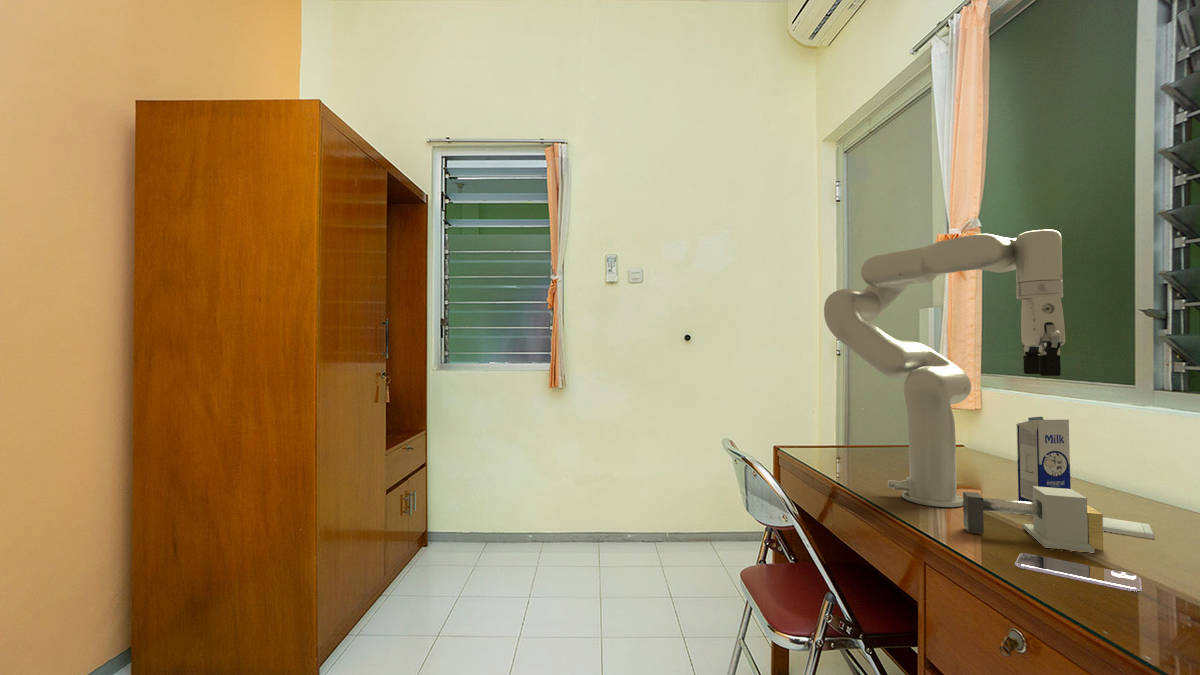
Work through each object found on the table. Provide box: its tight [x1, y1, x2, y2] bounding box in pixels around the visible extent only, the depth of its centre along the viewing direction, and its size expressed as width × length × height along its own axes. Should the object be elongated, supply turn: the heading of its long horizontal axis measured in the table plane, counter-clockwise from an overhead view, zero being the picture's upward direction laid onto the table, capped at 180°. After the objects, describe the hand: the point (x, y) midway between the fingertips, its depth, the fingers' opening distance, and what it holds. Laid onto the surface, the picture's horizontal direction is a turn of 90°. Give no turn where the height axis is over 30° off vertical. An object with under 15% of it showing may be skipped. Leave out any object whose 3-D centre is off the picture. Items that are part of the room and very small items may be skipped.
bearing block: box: [1022, 486, 1095, 553], centre depth 103 cm, size 7×12×9 cm, turn 157°
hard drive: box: [1103, 516, 1154, 540], centre depth 110 cm, size 2×8×12 cm
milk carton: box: [1016, 416, 1072, 502], centre depth 127 cm, size 7×7×20 cm
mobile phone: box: [1014, 552, 1143, 593], centre depth 88 cm, size 8×1×15 cm
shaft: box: [962, 491, 1042, 535], centre depth 105 cm, size 16×4×7 cm, turn 67°
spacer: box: [1087, 504, 1104, 551], centre depth 101 cm, size 2×6×6 cm, turn 157°
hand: (1041, 374), depth 113 cm, fingers open, 9 cm apart
